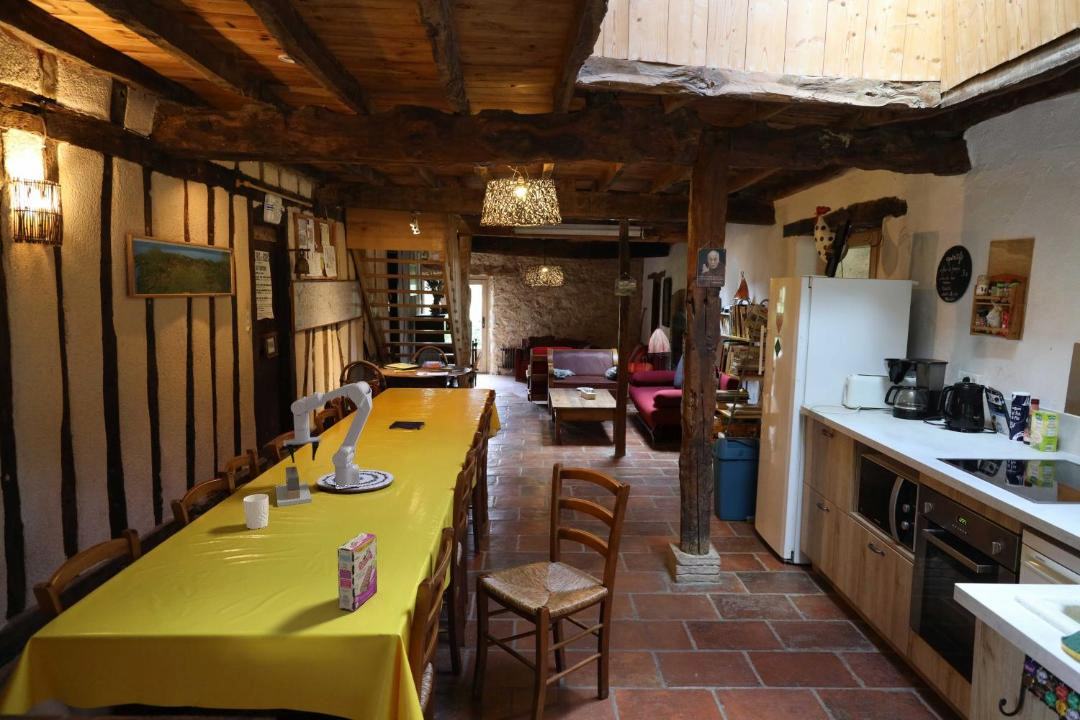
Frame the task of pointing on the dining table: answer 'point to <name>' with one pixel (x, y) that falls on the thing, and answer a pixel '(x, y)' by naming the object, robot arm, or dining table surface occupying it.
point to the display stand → (293, 495)
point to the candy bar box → (357, 571)
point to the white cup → (256, 510)
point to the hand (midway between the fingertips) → (303, 461)
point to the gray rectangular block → (292, 478)
